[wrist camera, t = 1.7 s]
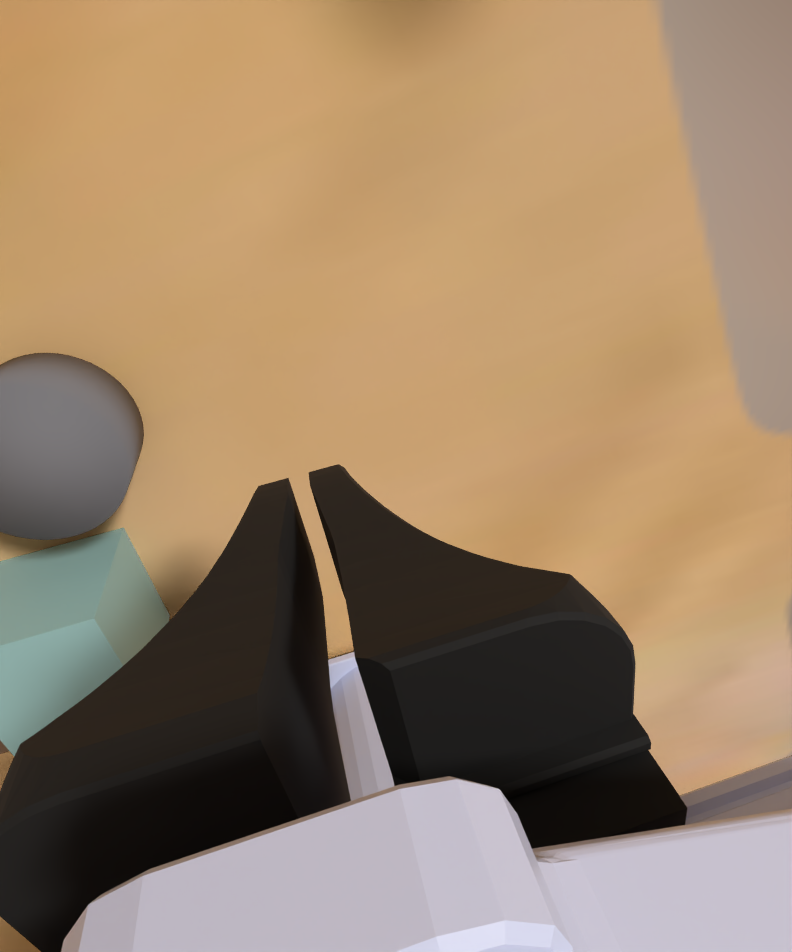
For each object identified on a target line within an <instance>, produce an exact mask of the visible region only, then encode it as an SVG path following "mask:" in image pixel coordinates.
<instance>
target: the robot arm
mask: <svg viewBox="0 0 792 952" xmlns="http://www.w3.org/2000/svg"><path fill="white" fill-rule="evenodd" d="M309 480H310V486H311V490H312V493H313V496H314V499H315V503H316V506H317V509H318V512H319V516H320V519H321V522H322V526H323V529H324V532H325V535H326V539H327V542H328V545H329V548H330V552H331V555H332V558H333V562H334V565H335V568H336V571H337V575H338V578H339V581H340V584H341V588H342V591H343V594H344V597H345V599H346V604H347V609H348V615H349V621H350V627H351V634H352V640H353V647H354V652H352V653H348V654H345V655H342V656H339V657H335V658H332V659H329V660H328V652H327V640H326V628H325V616H324V605H323V596H322V591H321V586H320V582H319V577H318V572H317V568H316V563H315V559H314V555H313V552H312V549H311V546H310V543H309V540H308V537H307V534H306V531H305V528H304V524H303V521H302V518H301V515H300V512H299V509H298V506H297V503H296V500H295V497H294V494H293V491H292V488H291V485H290V482H289V478H287V479H283V480H279V481H276V482H272V483H268V484H265V485H261V486H258V488H257V490H256V491H255V493H254V495H253V497H252V499H251V501H250V503H249V505H248V507H247V509H246V511H245V513H244V515H243V517H242V519H241V521H240V523H239V525H238V526H237V528H236V530H235V532H234V534H233V535H232V537H231V539H230V541H229V542H228V544H227V546H226V548H225V549H224V551H223V553H222V554H221V556H220V557H219V559H218V560H217V562H216V563H215V565H214V566H213V568H212V569H211V571H210V572H209V574H208V575H207V577H206V578H205V579H204V581H203V582H202V583H201V585H200V586H199V587H198V589H197V590H196V591H195V592H194V594H193V595H192V596H191V597H190V598H189V600H188V601H187V602H186V603H185V604H184V606H183V607H182V608H181V609H180V610H179V611H178V612H177V614H176V615H175V616H174V617H173V618H172V619H171V620H170V621H169V622H168V623H167V624H166V625H165V626H164V627H163V628H162V629H161V630H160V631H159V632H158V633H157V634H156V635H155V636H154V637H153V638H152V639H151V640H150V641H149V642H148V643H147V644H146V645H145V646H144V647H143V648H142V649H141V650H140V651H139V652H138V653H137V654H136V655H135V656H134V657H132V658H131V659H130V660H129V661H128V662H127V663H126V664H125V665H124V666H122V667H121V668H120V669H119V670H118V671H117V672H115V673H114V674H113V675H112V676H111V677H109V678H108V679H107V680H106V681H105V682H103V683H102V684H101V685H100V686H99V687H97V688H96V689H95V690H94V691H92V692H91V693H90V694H89V695H87V696H86V697H85V698H83V699H82V700H81V701H80V702H78V703H77V704H75V705H74V706H73V707H71V708H70V709H69V710H67V711H66V712H64V713H63V714H62V715H60V716H59V717H58V718H56V719H55V720H53V721H52V722H51V723H49V724H48V725H47V726H45V727H44V728H42V729H41V730H40V731H38V732H37V733H36V734H34V735H33V736H31V737H30V738H28V739H27V740H25V741H24V742H22V743H21V744H20V745H19V748H18V750H17V752H16V754H15V756H14V759H13V761H12V764H11V766H10V768H9V771H8V773H7V775H6V778H5V780H4V783H3V785H2V788H1V791H0V917H2V918H3V919H4V920H5V921H6V922H7V923H9V924H10V925H11V926H12V927H13V928H14V929H16V930H17V931H18V932H19V933H20V934H21V935H23V936H24V937H25V938H26V939H27V940H28V941H30V942H31V943H32V944H33V945H34V946H35V947H37V948H38V949H39V950H40V951H41V952H792V755H791V756H789V757H786V758H783V759H780V760H777V761H775V762H772V763H769V764H766V765H763V766H761V767H758V768H755V769H752V770H750V771H747V772H744V773H741V774H738V775H736V776H733V777H730V778H727V779H724V780H722V781H719V782H716V783H713V784H711V785H708V786H705V787H702V788H699V789H697V790H694V791H691V792H688V793H686V794H683V795H680V796H679V795H678V793H677V792H676V790H675V789H674V787H673V786H672V784H671V783H670V781H669V780H668V778H667V777H666V776H665V774H664V773H663V771H662V770H661V768H660V767H659V765H658V764H657V762H656V761H655V759H654V758H653V757H652V755H651V754H650V752H649V751H648V750H649V749H651V742H650V739H649V736H648V734H647V733H646V731H645V730H644V729H643V727H642V726H641V724H640V723H639V721H638V720H637V719H636V717H635V716H634V714H633V704H634V683H635V657H634V650H633V645H632V643H631V641H630V640H629V638H628V637H627V635H626V633H625V632H624V630H623V629H622V627H621V626H620V625H619V624H618V622H617V621H616V620H615V619H614V618H613V616H612V615H611V614H610V613H609V611H608V610H607V609H606V608H605V607H604V606H603V605H602V604H601V603H600V602H599V601H598V600H597V599H596V598H595V597H594V596H593V595H592V594H591V593H590V592H589V591H588V590H587V589H585V588H584V587H583V586H582V585H581V584H580V583H579V582H578V581H577V580H576V579H575V578H574V577H573V576H572V575H570V574H565V573H559V572H553V571H546V570H540V569H534V568H528V567H522V566H517V565H513V564H509V563H505V562H501V561H498V560H494V559H490V558H486V557H483V556H480V555H477V554H474V553H471V552H468V551H465V550H463V549H460V548H457V547H455V546H452V545H449V544H447V543H445V542H442V541H440V540H438V539H436V538H434V537H432V536H430V535H428V534H426V533H424V532H422V531H420V530H419V529H417V528H415V527H414V526H412V525H410V524H409V523H407V522H406V521H404V520H403V519H401V518H400V517H398V516H397V515H395V514H394V513H392V512H391V511H390V510H388V509H387V508H386V507H384V506H383V505H382V504H381V503H379V502H378V501H377V500H376V499H374V498H373V497H372V496H371V495H370V494H368V493H367V492H366V491H365V490H364V489H363V488H362V487H361V486H360V485H359V484H358V483H357V482H356V481H355V480H354V479H353V478H352V477H351V476H350V475H349V473H348V472H347V471H346V469H345V468H344V467H342V466H340V465H339V464H338V465H334V466H330V467H327V468H323V469H319V470H316V471H312V472H309Z"/></svg>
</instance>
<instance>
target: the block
mask: <svg viewBox="0 0 792 952" xmlns="http://www.w3.org/2000/svg"><path fill="white" fill-rule="evenodd" d="M169 617H170V615H169V613H168V611H167V609H166V607H165V606H164V604H163V602H162V600H161V598H160V596H159V594H158V592H157V590H156V588H155V586H154V585H153V583H152V581H151V579H150V577H149V575H148V573H147V571H146V569H145V567H144V566H143V564H142V562H141V560H140V558H139V556H138V554H137V552H136V550H135V548H134V547H133V545H132V543H131V541H130V539H129V537H128V535H127V533H126V531H125V529H124V528H120V529H117V530H113V531H109V532H106V533H102V534H98V535H95V536H91V537H87V538H84V539H80V540H76V541H73V542H69V543H65V544H62V545H58V546H54V547H51V548H47V549H44V550H40V551H36V552H33V553H29V554H25V555H22V556H18V557H14V558H11V559H7V560H3V561H0V741H1V742H2V743H3V744H4V745H5V746H6V747H7V749H8V750H9V751H10V752H11V753H12V754H13V756H15V754H16V752H17V750H18V748H19V745H20V744H21V743H22V742H24V741H25V740H27V739H28V738H30V737H31V736H33V735H34V734H36V733H37V732H38V731H40V730H41V729H42V728H44V727H45V726H47V725H48V724H49V723H51V722H52V721H53V720H55V719H56V718H58V717H59V716H60V715H62V714H63V713H64V712H66V711H67V710H69V709H70V708H71V707H73V706H74V705H75V704H77V703H78V702H80V701H81V700H82V699H83V698H85V697H86V696H87V695H89V694H90V693H91V692H92V691H94V690H95V689H96V688H97V687H99V686H100V685H101V684H102V683H103V682H105V681H106V680H107V679H108V678H109V677H111V676H112V675H113V674H114V673H115V672H117V671H118V670H119V669H120V668H121V667H122V666H124V665H125V664H126V663H127V662H128V661H129V660H130V659H131V658H132V657H134V656H135V655H136V654H137V653H138V652H139V651H140V650H141V649H142V648H143V647H144V646H145V645H146V644H147V643H148V642H149V641H150V640H151V639H152V638H153V637H154V636H155V635H156V634H157V633H158V632H159V631H160V630H161V629H162V628H163V627H164V626H165V625H166V624H167V623H168V622H169Z"/></svg>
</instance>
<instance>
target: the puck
mask: <svg viewBox="0 0 792 952" xmlns="http://www.w3.org/2000/svg"><path fill="white" fill-rule="evenodd" d="M143 437H144V431H143V422H142V418H141V415H140V412H139V409H138V407H137V405H136V403H135V401H134V399H133V398H132V397H131V395H130V394H129V392H128V391H127V390H126V389H125V388H124V387H123V385H122V384H121V383H120V382H119V381H117V380H116V379H115V378H114V377H113V376H112V375H110V374H109V373H107V372H106V371H104V370H103V369H101V368H99V367H98V366H96V365H94V364H92V363H90V362H87V361H85V360H82V359H79V358H76V357H72V356H69V355H63V354H56V353H34V354H29V355H23V356H20V357H17V358H13V359H11V360H9V361H7V362H5V363H3V364H1V365H0V532H2V533H6V534H9V535H13V536H16V537H22V538H28V539H39V540H52V539H62V538H67V537H72V536H76V535H79V534H82V533H85V532H87V531H89V530H91V529H94V528H95V527H97V526H99V525H100V524H102V523H103V522H105V521H106V520H107V519H108V518H109V517H111V516H112V514H113V513H114V512H115V511H116V510H117V509H118V507H119V506H120V504H121V503H122V501H123V499H124V497H125V494H126V492H127V489H128V486H129V483H130V481H131V478H132V475H133V472H134V469H135V466H136V464H137V461H138V458H139V455H140V452H141V449H142V445H143Z"/></svg>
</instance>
